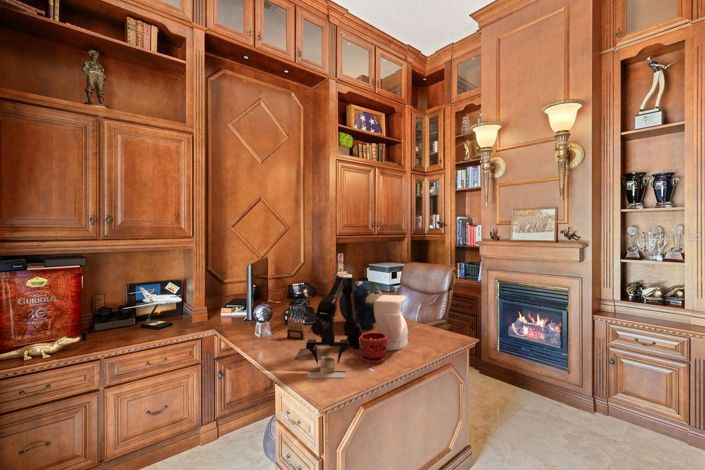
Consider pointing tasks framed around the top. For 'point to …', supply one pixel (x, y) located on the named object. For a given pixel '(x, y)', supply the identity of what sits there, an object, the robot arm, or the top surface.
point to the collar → (327, 365)
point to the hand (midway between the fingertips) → (327, 363)
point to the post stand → (307, 355)
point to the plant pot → (373, 347)
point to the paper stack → (391, 320)
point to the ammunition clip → (295, 329)
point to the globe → (362, 302)
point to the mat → (326, 374)
